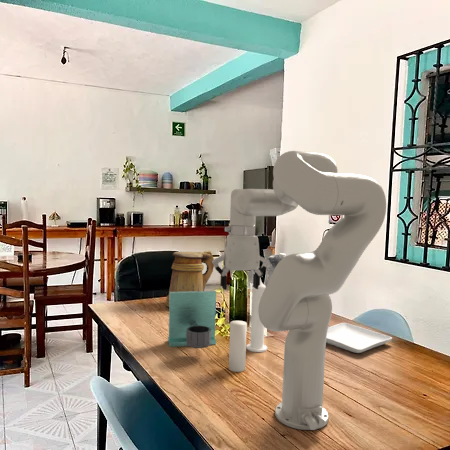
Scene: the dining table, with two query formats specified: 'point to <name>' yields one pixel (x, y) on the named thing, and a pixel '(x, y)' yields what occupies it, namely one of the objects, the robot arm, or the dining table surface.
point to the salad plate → (354, 337)
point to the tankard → (190, 271)
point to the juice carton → (273, 264)
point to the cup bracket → (192, 319)
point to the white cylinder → (237, 346)
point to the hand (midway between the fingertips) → (240, 288)
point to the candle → (256, 322)
